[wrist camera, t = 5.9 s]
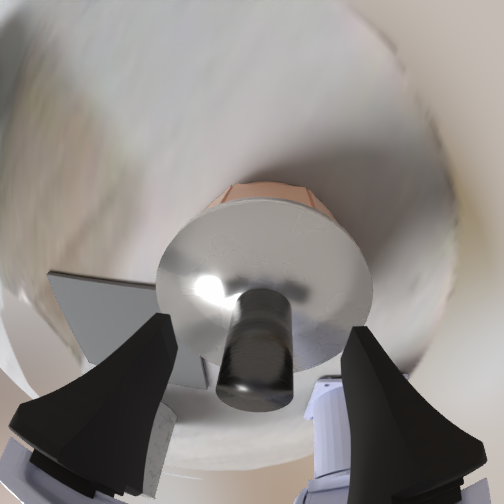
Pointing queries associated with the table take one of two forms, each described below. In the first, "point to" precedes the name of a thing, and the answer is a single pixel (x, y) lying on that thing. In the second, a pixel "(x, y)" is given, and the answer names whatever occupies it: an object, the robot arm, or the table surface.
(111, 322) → the mat
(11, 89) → the table surface
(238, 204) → the lid
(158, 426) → the grey concrete cylinder
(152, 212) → the table surface
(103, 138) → the table surface
